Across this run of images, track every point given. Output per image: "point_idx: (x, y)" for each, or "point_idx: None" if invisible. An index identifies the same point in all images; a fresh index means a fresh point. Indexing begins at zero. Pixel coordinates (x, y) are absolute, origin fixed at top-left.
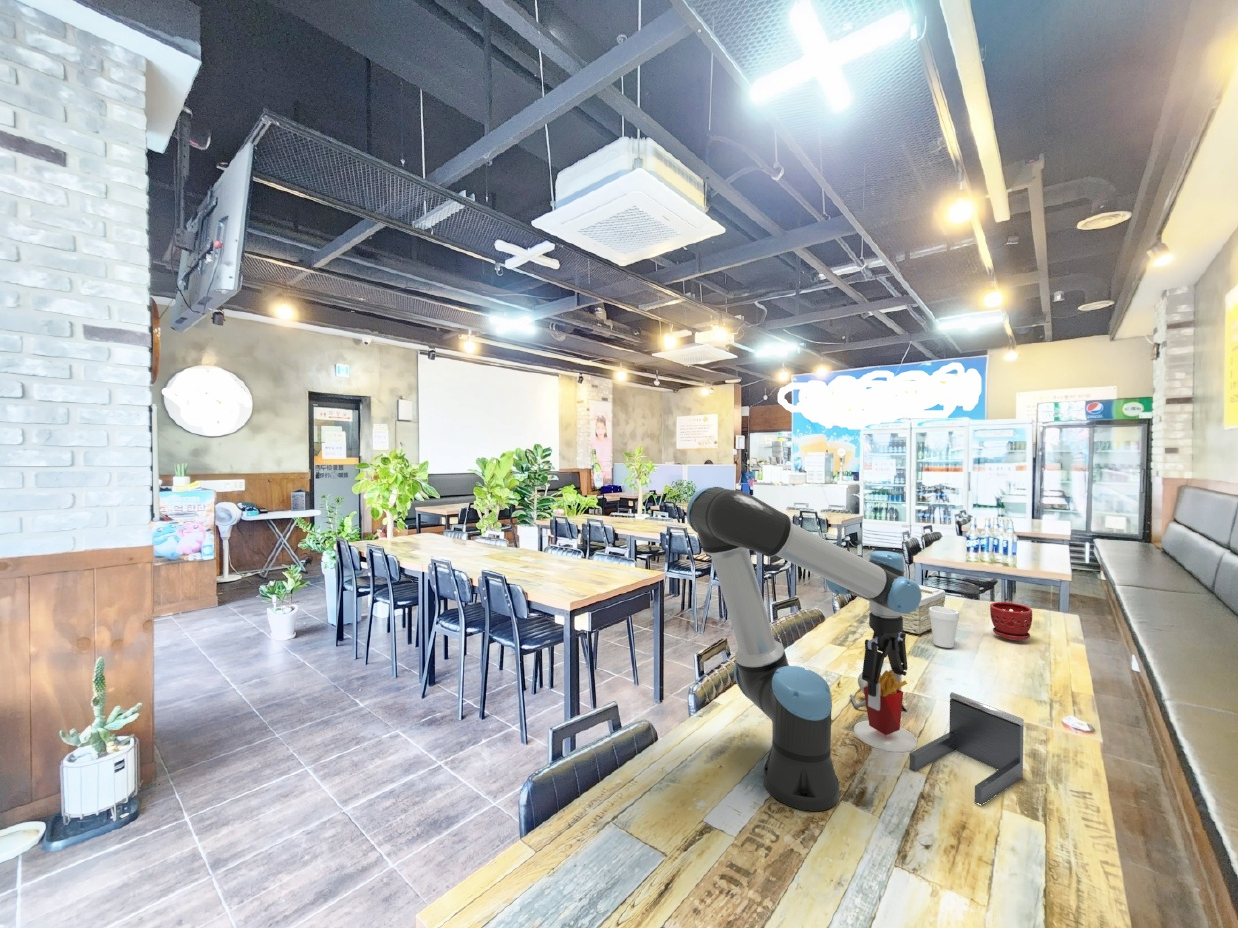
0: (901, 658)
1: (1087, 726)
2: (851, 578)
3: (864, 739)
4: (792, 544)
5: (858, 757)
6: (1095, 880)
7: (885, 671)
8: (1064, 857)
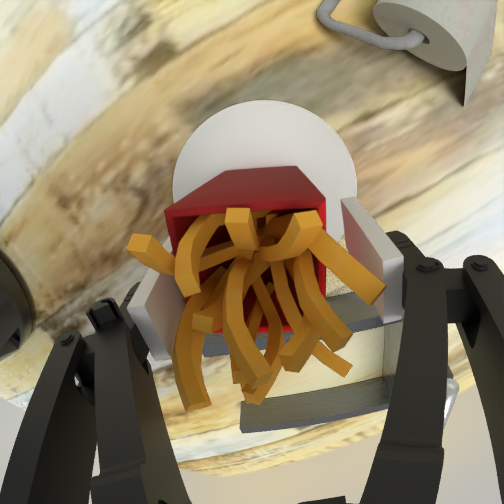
0: (479, 367)
1: None
2: None
3: (178, 198)
4: None
5: (121, 246)
6: (254, 466)
7: (251, 369)
8: (258, 454)
